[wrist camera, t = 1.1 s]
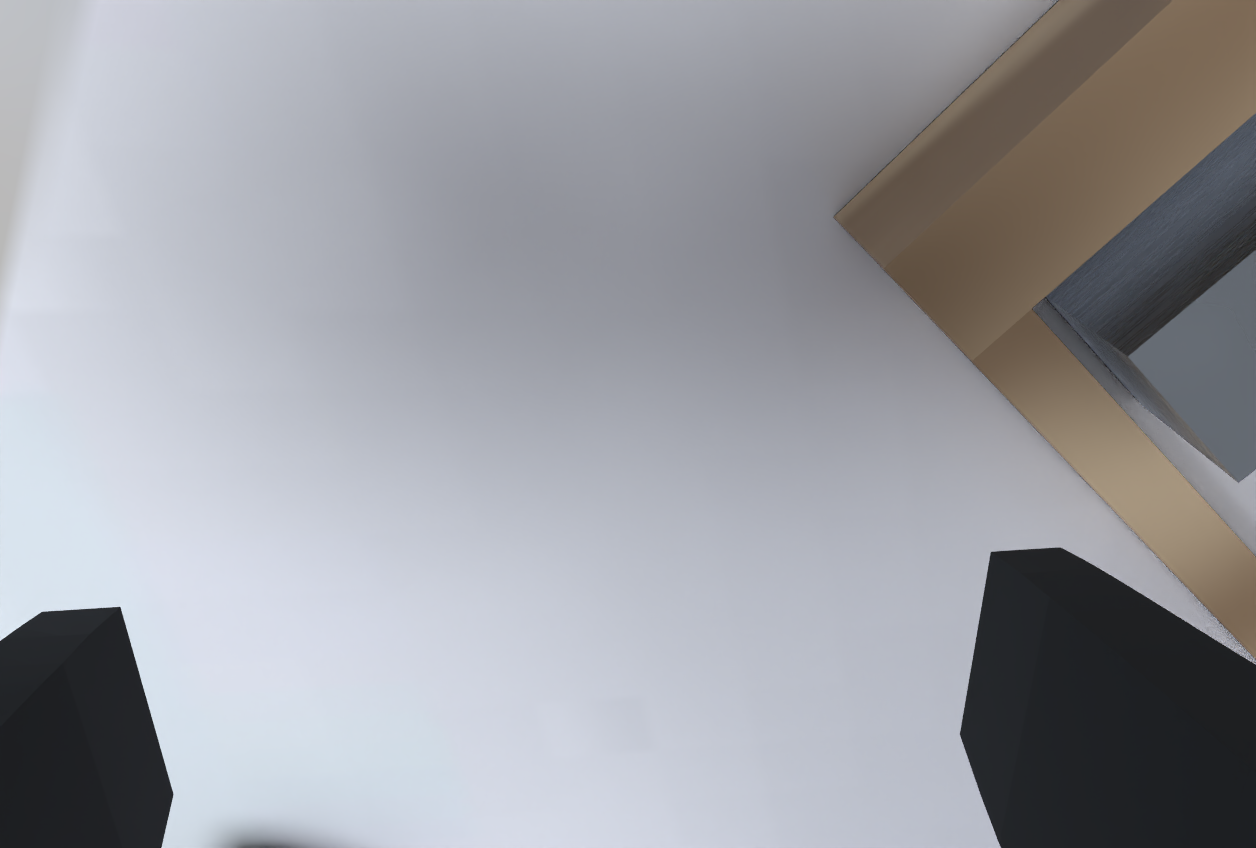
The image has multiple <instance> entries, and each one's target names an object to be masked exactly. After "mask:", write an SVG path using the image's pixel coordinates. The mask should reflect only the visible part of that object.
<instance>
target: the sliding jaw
mask: <svg viewBox="0 0 1256 848" xmlns="http://www.w3.org/2000/svg"><path fill="white" fill-rule="evenodd" d="M1046 298H1047V299H1048V300H1049V302H1050V303H1051V304H1052V305H1053V306H1054V307H1055V308H1056V309H1057V311H1058V312H1059V313H1060V314H1061V315H1062V316H1063V317H1064V318H1065V320H1066V321H1067V322H1068V323H1069V324H1070V325H1071V326H1072V327H1073V328H1074V330H1075V331H1076V332H1077V333H1078V334H1079V335H1080V336H1081V337H1082V339H1083V340H1084V341H1085V342H1086V343H1087V344H1088V345H1089V346H1090V348H1091V349H1092V350H1093V351H1094V352H1095V353H1096V354H1097V355H1098V357H1099V358H1100V359H1101V360H1102V361H1103V362H1104V363H1105V364H1106V365H1107V367H1108V368H1109V369H1110V370H1111V371H1112V372H1113V373H1114V374H1115V376H1116V377H1117V378H1118V379H1119V380H1120V381H1121V382H1122V383H1123V385H1124V386H1125V387H1126V388H1127V389H1128V390H1129V391H1130V392H1131V394H1132V395H1133V396H1134V397H1135V398H1136V399H1137V400H1138V401H1139V403H1140V404H1141V405H1142V406H1144V407H1145V408H1146V409H1147V410H1149V411H1150V412H1151V413H1152V414H1154V415H1155V416H1156V417H1157V418H1159V419H1160V420H1161V421H1162V422H1164V423H1165V424H1166V425H1167V426H1169V427H1170V428H1171V429H1172V430H1174V431H1175V432H1176V433H1177V434H1179V435H1180V436H1181V437H1182V438H1184V439H1185V440H1186V441H1187V442H1188V443H1190V444H1191V445H1192V446H1193V447H1195V448H1196V449H1197V450H1198V451H1200V452H1201V453H1202V454H1203V455H1205V456H1206V457H1207V458H1208V459H1210V460H1211V461H1212V462H1213V463H1215V464H1216V465H1217V466H1218V467H1220V468H1221V469H1222V470H1223V471H1225V472H1226V473H1227V474H1228V475H1230V476H1231V477H1232V478H1233V479H1235V480H1236V481H1237V482H1238V483H1239V482H1240V481H1241V480H1243V479H1244V478H1245V477H1246V476H1248V475H1249V474H1250V473H1252V472H1253V471H1254V470H1255V469H1256V113H1255V114H1254V115H1253V116H1252V117H1251V118H1249V119H1248V120H1247V121H1246V122H1245V123H1244V124H1243V125H1241V126H1240V127H1239V128H1238V129H1237V130H1236V131H1235V132H1233V133H1232V134H1231V135H1230V136H1229V137H1228V138H1227V139H1225V140H1224V141H1223V142H1222V143H1221V144H1220V145H1218V146H1217V147H1216V148H1215V149H1214V150H1213V151H1212V152H1210V153H1209V154H1208V155H1207V156H1206V157H1205V158H1204V159H1202V160H1201V161H1200V162H1199V163H1198V164H1197V165H1196V166H1194V167H1193V168H1192V169H1191V170H1190V171H1189V172H1188V173H1186V174H1185V175H1184V176H1183V177H1182V178H1181V179H1180V180H1178V181H1177V182H1176V183H1175V184H1174V185H1173V186H1172V187H1170V188H1169V189H1168V190H1167V191H1166V192H1165V193H1164V194H1162V195H1161V196H1160V197H1159V198H1158V199H1157V200H1156V201H1154V202H1153V203H1152V204H1151V205H1150V206H1149V207H1148V208H1146V209H1145V210H1144V211H1143V212H1142V213H1141V214H1140V215H1138V216H1137V217H1136V218H1135V219H1134V220H1133V221H1132V222H1130V223H1129V224H1128V225H1127V226H1126V227H1125V228H1124V229H1122V230H1121V231H1120V232H1119V233H1118V234H1117V235H1116V236H1114V237H1113V238H1112V239H1111V240H1110V241H1109V242H1108V243H1106V244H1105V245H1104V246H1103V247H1102V248H1101V249H1100V250H1098V251H1097V252H1096V253H1095V254H1094V255H1093V256H1092V257H1090V258H1089V259H1088V260H1087V261H1086V262H1085V263H1084V264H1082V265H1081V266H1080V267H1079V268H1078V269H1077V270H1075V271H1074V272H1073V273H1072V274H1071V275H1070V276H1069V277H1067V278H1066V279H1065V280H1064V281H1063V282H1062V283H1061V284H1059V285H1058V286H1057V287H1056V288H1055V289H1054V290H1053V291H1051V292H1050V293H1049V294H1048V295H1047V296H1046Z"/></svg>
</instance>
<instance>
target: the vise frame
mask: <svg viewBox="0 0 1256 848" xmlns="http://www.w3.org/2000/svg"><path fill="white" fill-rule="evenodd" d="M1255 113H1256V0H1059V1H1058V2H1057V3H1056V4H1055V5H1054V6H1053V7H1052V8H1051V9H1050V10H1049V11H1048V12H1047V13H1046V14H1045V15H1044V16H1042V17H1041V18H1040V19H1039V20H1038V21H1037V22H1036V23H1035V24H1034V25H1033V26H1032V27H1031V28H1030V29H1029V30H1028V31H1027V32H1026V33H1025V34H1024V35H1023V36H1022V37H1021V38H1020V39H1019V40H1017V41H1016V42H1015V43H1014V44H1013V45H1012V46H1011V47H1010V48H1009V49H1008V50H1007V51H1006V52H1005V53H1004V54H1003V55H1002V56H1001V57H1000V58H999V59H998V60H997V61H996V62H995V63H994V64H992V65H991V66H990V67H989V68H988V69H987V70H986V71H985V72H984V73H983V74H982V75H981V76H980V77H979V78H978V79H977V80H976V81H975V82H974V83H973V84H972V85H971V86H970V87H969V88H967V89H966V90H965V91H964V92H963V93H962V94H961V95H960V96H959V97H958V98H957V99H956V100H955V101H954V102H953V103H952V104H951V105H950V106H949V107H948V108H947V109H946V110H945V111H944V112H943V113H941V114H940V115H939V116H938V117H937V118H936V119H935V120H934V121H933V122H932V123H931V124H930V125H929V126H928V127H927V128H926V129H925V130H924V131H923V132H922V133H921V134H920V135H919V136H918V137H916V138H915V139H914V140H913V141H912V142H911V143H910V144H909V145H908V146H907V147H906V148H905V149H904V150H903V151H902V152H901V153H900V154H899V155H898V156H897V157H896V158H895V159H894V160H893V161H891V162H890V163H889V164H888V165H887V166H886V167H885V168H884V169H883V170H882V171H881V172H880V173H879V174H878V175H877V176H876V177H875V178H874V179H873V180H872V181H871V182H870V183H869V184H868V185H866V186H865V187H864V188H863V189H862V190H861V191H860V192H859V193H858V194H857V195H856V196H855V197H854V198H853V199H852V200H851V201H850V202H849V203H848V204H847V205H846V206H845V207H844V208H843V209H841V210H840V211H839V212H838V213H837V214H836V215H835V216H834V218H835V219H836V220H837V221H838V222H839V223H840V224H841V225H842V227H843V228H844V229H845V230H846V231H847V232H848V233H849V234H850V235H851V236H852V237H853V238H854V239H855V240H856V241H857V242H858V243H859V244H860V245H861V246H862V247H863V249H864V250H865V251H866V252H867V253H868V254H869V255H870V256H871V257H872V258H873V259H874V260H875V261H876V262H877V263H878V264H879V265H880V266H881V267H882V268H883V269H884V271H885V272H886V273H887V274H888V275H889V276H890V277H891V278H892V279H893V280H894V281H895V282H896V283H897V284H898V285H899V286H900V287H901V288H902V289H903V290H904V292H905V293H906V294H907V295H908V296H909V297H910V298H911V299H912V300H913V301H914V302H915V303H916V304H917V305H918V306H919V307H920V308H921V309H922V310H923V311H924V312H925V314H926V315H927V316H928V317H929V318H930V319H931V320H932V321H933V322H934V323H935V324H936V325H937V326H938V327H939V328H940V329H941V330H942V331H943V332H944V333H945V334H946V336H947V337H948V338H949V339H950V340H951V341H952V342H953V343H954V344H955V345H956V346H957V347H958V348H959V349H960V350H961V351H962V352H963V353H964V354H965V355H966V356H967V358H968V359H969V360H970V361H971V362H972V363H973V364H974V365H975V366H976V367H977V368H978V369H979V370H980V371H981V372H982V373H983V374H984V375H985V376H986V377H987V378H988V380H989V381H990V382H991V383H992V384H993V385H994V386H995V387H996V388H997V389H998V390H999V391H1000V392H1001V393H1002V394H1003V395H1004V396H1005V397H1006V398H1007V399H1008V400H1009V402H1010V403H1011V404H1012V405H1013V406H1014V407H1015V408H1016V409H1017V410H1018V411H1019V412H1020V413H1021V414H1022V415H1023V416H1024V417H1025V418H1026V419H1027V420H1028V421H1029V422H1030V424H1031V425H1032V426H1033V427H1034V428H1035V429H1036V430H1037V431H1038V432H1039V433H1040V434H1041V435H1042V436H1043V437H1044V438H1045V439H1046V440H1047V441H1048V442H1049V443H1050V444H1051V446H1052V447H1053V448H1054V449H1055V450H1056V451H1057V452H1058V453H1059V454H1060V455H1061V456H1062V457H1063V458H1064V459H1065V460H1066V461H1067V462H1068V463H1069V464H1070V465H1071V466H1072V468H1073V469H1074V470H1075V471H1076V472H1077V473H1078V474H1079V475H1080V476H1081V477H1082V478H1083V479H1084V480H1085V481H1086V482H1087V483H1088V484H1089V485H1090V486H1091V487H1092V488H1093V490H1094V491H1095V492H1096V493H1097V494H1098V495H1099V496H1100V497H1101V498H1102V499H1103V500H1104V501H1105V502H1106V503H1107V504H1108V505H1109V506H1110V507H1111V508H1112V509H1113V510H1114V512H1115V513H1116V514H1117V515H1118V516H1119V517H1120V518H1121V519H1122V520H1123V521H1124V522H1125V523H1126V524H1127V525H1128V526H1129V527H1130V528H1131V529H1132V530H1133V531H1134V532H1135V534H1136V535H1137V536H1138V537H1139V538H1140V539H1141V540H1142V541H1143V542H1144V543H1145V544H1146V545H1147V546H1148V547H1149V548H1150V549H1151V550H1152V551H1153V552H1154V553H1155V554H1156V556H1157V557H1158V558H1159V559H1160V560H1161V561H1162V562H1163V563H1164V564H1165V565H1166V566H1167V567H1168V568H1169V569H1170V570H1171V571H1172V572H1173V573H1174V574H1175V575H1176V576H1177V578H1178V579H1179V580H1180V581H1181V582H1182V583H1183V584H1184V585H1185V586H1186V587H1187V588H1188V589H1189V590H1190V591H1191V592H1192V593H1193V594H1194V595H1195V596H1196V597H1197V598H1198V600H1199V601H1200V602H1201V603H1202V604H1203V605H1204V606H1205V607H1206V608H1207V609H1208V610H1209V611H1210V612H1211V613H1212V614H1213V615H1214V616H1215V617H1216V618H1217V619H1218V620H1219V622H1220V623H1221V624H1222V625H1223V626H1224V627H1225V628H1226V629H1227V630H1228V631H1229V632H1230V633H1231V634H1232V635H1233V636H1234V637H1235V638H1236V639H1237V640H1238V641H1239V642H1240V644H1241V645H1242V646H1243V647H1244V648H1245V649H1246V650H1247V651H1248V652H1249V653H1250V654H1251V655H1252V656H1253V657H1254V658H1255V659H1256V556H1255V555H1254V554H1253V553H1252V552H1251V551H1250V550H1249V549H1248V548H1247V546H1246V545H1245V544H1244V543H1243V542H1242V541H1241V540H1240V539H1239V538H1238V536H1237V535H1236V534H1235V533H1234V532H1233V531H1232V530H1231V529H1230V528H1229V526H1228V525H1227V524H1226V523H1225V522H1224V521H1223V520H1222V519H1221V518H1220V517H1219V515H1218V514H1217V513H1216V512H1215V511H1214V510H1213V509H1212V508H1211V507H1210V505H1209V504H1208V503H1207V502H1206V501H1205V500H1204V499H1203V498H1202V497H1201V495H1200V494H1199V493H1198V492H1197V491H1196V490H1195V489H1194V488H1193V487H1192V486H1191V484H1190V483H1189V482H1188V481H1187V480H1186V479H1185V478H1184V477H1183V476H1182V474H1181V473H1180V472H1179V471H1178V470H1177V469H1176V468H1175V467H1174V466H1173V464H1172V463H1171V462H1170V461H1169V460H1168V459H1167V458H1166V457H1165V456H1164V454H1163V453H1162V452H1161V451H1160V450H1159V449H1158V448H1157V447H1156V446H1155V445H1154V443H1153V442H1152V441H1151V440H1150V439H1149V438H1148V437H1147V436H1146V435H1145V433H1144V432H1143V431H1142V430H1141V429H1140V428H1139V427H1138V426H1137V425H1136V423H1135V422H1134V421H1133V420H1132V419H1131V418H1130V417H1129V416H1128V415H1127V414H1126V412H1125V411H1124V410H1123V409H1122V408H1121V407H1120V406H1119V405H1118V404H1117V402H1116V401H1115V400H1114V399H1113V398H1112V397H1111V396H1110V395H1109V394H1108V392H1107V391H1106V390H1105V389H1104V388H1103V387H1102V386H1101V385H1100V384H1099V382H1098V381H1097V380H1096V379H1095V378H1094V377H1093V376H1092V375H1091V374H1090V373H1089V371H1088V370H1087V369H1086V368H1085V367H1084V366H1083V365H1082V364H1081V363H1080V361H1079V360H1078V359H1077V358H1076V357H1075V356H1074V355H1073V354H1072V353H1071V351H1070V350H1069V349H1068V348H1067V347H1066V346H1065V345H1064V344H1063V343H1062V342H1061V340H1060V339H1059V338H1058V337H1057V336H1056V335H1055V334H1054V333H1053V332H1052V330H1051V329H1050V328H1049V327H1048V326H1047V325H1046V324H1045V323H1044V322H1043V320H1042V319H1041V318H1040V317H1039V316H1038V315H1037V314H1036V313H1035V312H1034V311H1033V309H1032V308H1033V307H1034V306H1035V305H1037V304H1038V303H1039V302H1040V301H1041V300H1042V299H1043V298H1045V297H1046V296H1047V295H1048V294H1049V293H1050V292H1051V291H1053V290H1054V289H1055V288H1056V287H1057V286H1058V285H1059V284H1061V283H1062V282H1063V281H1064V280H1065V279H1066V278H1067V277H1069V276H1070V275H1071V274H1072V273H1073V272H1074V271H1075V270H1077V269H1078V268H1079V267H1080V266H1081V265H1082V264H1084V263H1085V262H1086V261H1087V260H1088V259H1089V258H1090V257H1092V256H1093V255H1094V254H1095V253H1096V252H1097V251H1098V250H1100V249H1101V248H1102V247H1103V246H1104V245H1105V244H1106V243H1108V242H1109V241H1110V240H1111V239H1112V238H1113V237H1114V236H1116V235H1117V234H1118V233H1119V232H1120V231H1121V230H1122V229H1124V228H1125V227H1126V226H1127V225H1128V224H1129V223H1130V222H1132V221H1133V220H1134V219H1135V218H1136V217H1137V216H1138V215H1140V214H1141V213H1142V212H1143V211H1144V210H1145V209H1146V208H1148V207H1149V206H1150V205H1151V204H1152V203H1153V202H1154V201H1156V200H1157V199H1158V198H1159V197H1160V196H1161V195H1162V194H1164V193H1165V192H1166V191H1167V190H1168V189H1169V188H1170V187H1172V186H1173V185H1174V184H1175V183H1176V182H1177V181H1178V180H1180V179H1181V178H1182V177H1183V176H1184V175H1185V174H1186V173H1188V172H1189V171H1190V170H1191V169H1192V168H1193V167H1194V166H1196V165H1197V164H1198V163H1199V162H1200V161H1201V160H1202V159H1204V158H1205V157H1206V156H1207V155H1208V154H1209V153H1210V152H1212V151H1213V150H1214V149H1215V148H1216V147H1217V146H1218V145H1220V144H1221V143H1222V142H1223V141H1224V140H1225V139H1227V138H1228V137H1229V136H1230V135H1231V134H1232V133H1233V132H1235V131H1236V130H1237V129H1238V128H1239V127H1240V126H1241V125H1243V124H1244V123H1245V122H1246V121H1247V120H1248V119H1249V118H1251V117H1252V116H1253V115H1254V114H1255Z"/></svg>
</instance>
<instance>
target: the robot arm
mask: <svg viewBox="0 0 1256 848" xmlns="http://www.w3.org/2000/svg"><path fill="white" fill-rule="evenodd" d="M960 736H961V739H962V742H963V745H964V748H965V751H966V753H967V756H968V759H969V762H970V765H971V768H972V771H973V774H974V777H975V780H976V782H977V785H978V788H979V791H980V794H981V797H982V799H983V802H984V805H985V807H986V810H987V813H988V815H989V818H990V821H991V823H992V826H993V828H994V831H995V834H996V836H997V839H998V842H999V844H1000V846H1001V848H1256V665H1255V664H1253V663H1252V662H1250V661H1248V660H1247V659H1245V658H1244V657H1242V656H1240V655H1239V654H1237V653H1235V652H1234V651H1232V650H1231V649H1229V648H1227V647H1226V646H1224V645H1222V644H1221V643H1219V642H1218V641H1216V640H1214V639H1213V638H1211V637H1210V636H1208V635H1206V634H1205V633H1203V632H1202V631H1200V630H1198V629H1197V628H1195V627H1193V626H1192V625H1190V624H1189V623H1187V622H1185V621H1184V620H1182V619H1181V618H1179V617H1177V616H1176V615H1174V614H1173V613H1171V612H1169V611H1168V610H1166V609H1165V608H1163V607H1161V606H1160V605H1158V604H1156V603H1155V602H1153V601H1152V600H1150V599H1148V598H1147V597H1145V596H1144V595H1142V594H1140V593H1139V592H1137V591H1135V590H1134V589H1132V588H1130V587H1129V586H1127V585H1126V584H1124V583H1122V582H1121V581H1119V580H1117V579H1116V578H1114V577H1112V576H1111V575H1109V574H1107V573H1106V572H1104V571H1102V570H1101V569H1099V568H1097V567H1095V566H1094V565H1092V564H1090V563H1088V562H1087V561H1085V560H1083V559H1081V558H1079V557H1077V556H1076V555H1074V554H1072V553H1070V552H1068V551H1066V550H1064V549H1062V548H1044V549H1028V550H1013V551H997V552H991V555H990V561H989V566H988V572H987V578H986V584H985V590H984V596H983V602H982V608H981V614H980V620H979V625H978V631H977V637H976V643H975V649H974V655H973V661H972V667H971V673H970V679H969V684H968V690H967V696H966V702H965V708H964V714H963V720H962V726H961V732H960ZM172 798H173V791H172V788H171V784H170V781H169V777H168V774H167V770H166V766H165V763H164V759H163V756H162V752H161V749H160V745H159V742H158V738H157V735H156V731H155V728H154V724H153V721H152V717H151V714H150V710H149V707H148V703H147V699H146V696H145V692H144V689H143V685H142V682H141V678H140V675H139V671H138V668H137V664H136V661H135V657H134V654H133V650H132V647H131V643H130V639H129V636H128V632H127V629H126V625H125V622H124V618H123V615H122V611H121V608H120V607H112V608H96V609H80V610H64V611H48V612H41V613H40V614H38V615H37V616H35V617H34V618H32V619H31V620H29V621H28V622H26V623H25V624H23V625H22V626H21V627H19V628H18V629H16V630H15V631H13V632H12V633H11V634H9V635H8V636H6V637H5V638H4V639H2V640H1V641H0V848H161V847H162V842H163V838H164V834H165V829H166V825H167V820H168V816H169V812H170V807H171V803H172Z"/></svg>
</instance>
